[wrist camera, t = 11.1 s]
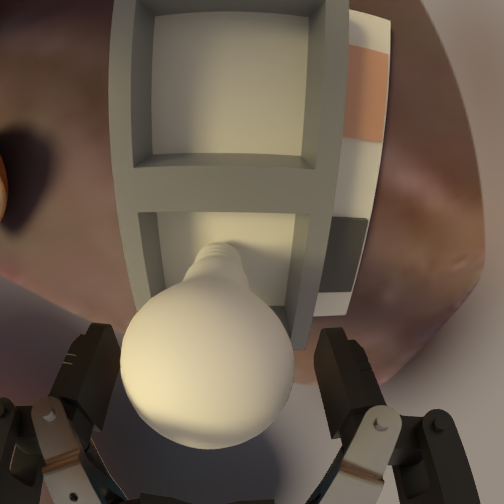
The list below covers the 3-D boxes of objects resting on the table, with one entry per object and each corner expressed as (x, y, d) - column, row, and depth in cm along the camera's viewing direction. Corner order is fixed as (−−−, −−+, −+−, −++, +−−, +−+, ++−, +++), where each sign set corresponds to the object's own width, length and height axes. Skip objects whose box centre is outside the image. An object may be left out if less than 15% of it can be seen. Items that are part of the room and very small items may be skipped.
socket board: (158, 307, 19) (146, 347, 16) (142, 7, 10) (116, -15, 7) (342, 307, 20) (358, 345, 17) (383, 23, 11) (419, 10, 8)
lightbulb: (257, 190, 15) (283, 363, 5) (284, 284, 18) (317, 458, 8) (150, 223, 16) (57, 387, 6) (191, 307, 18) (162, 471, 9)
